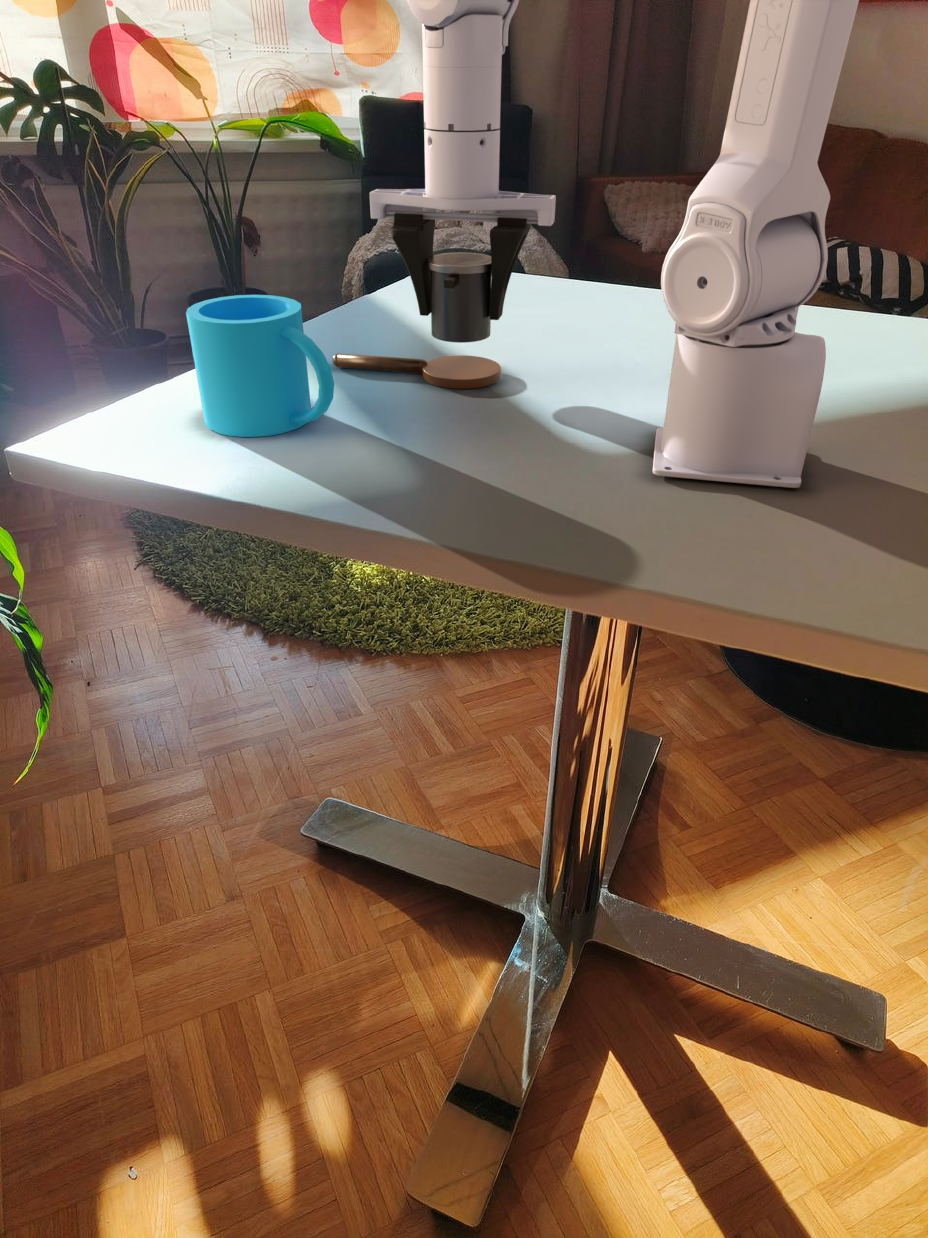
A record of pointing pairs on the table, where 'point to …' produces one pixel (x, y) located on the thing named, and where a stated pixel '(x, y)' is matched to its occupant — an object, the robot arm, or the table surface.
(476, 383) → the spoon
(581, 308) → the table surface
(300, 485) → the table surface
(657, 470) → the robot arm
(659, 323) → the table surface
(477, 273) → the pot
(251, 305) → the mug
